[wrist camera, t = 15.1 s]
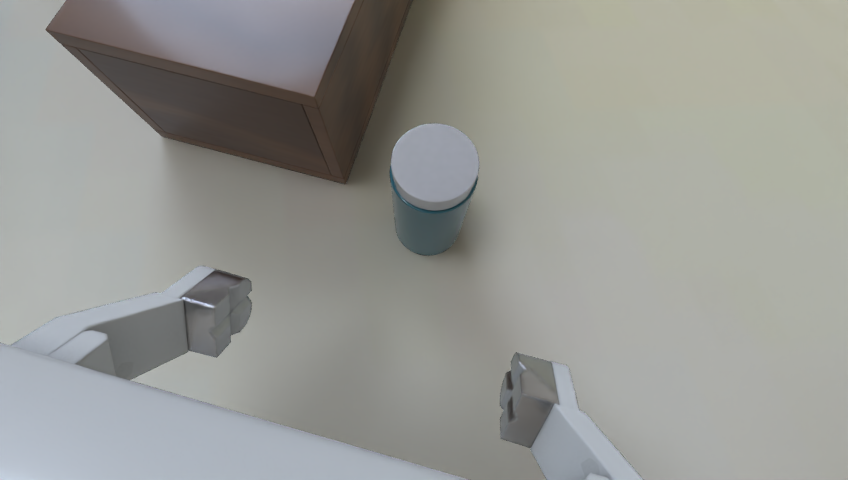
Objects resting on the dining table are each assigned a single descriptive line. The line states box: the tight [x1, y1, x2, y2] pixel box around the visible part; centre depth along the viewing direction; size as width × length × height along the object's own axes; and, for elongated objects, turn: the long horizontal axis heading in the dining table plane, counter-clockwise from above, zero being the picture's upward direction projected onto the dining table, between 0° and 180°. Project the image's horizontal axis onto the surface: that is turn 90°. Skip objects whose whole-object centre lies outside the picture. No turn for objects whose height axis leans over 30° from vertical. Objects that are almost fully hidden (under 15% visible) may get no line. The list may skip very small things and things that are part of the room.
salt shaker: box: [390, 123, 479, 255], centre depth 21 cm, size 4×4×8 cm
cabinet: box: [46, 0, 413, 184], centre depth 24 cm, size 18×13×9 cm
